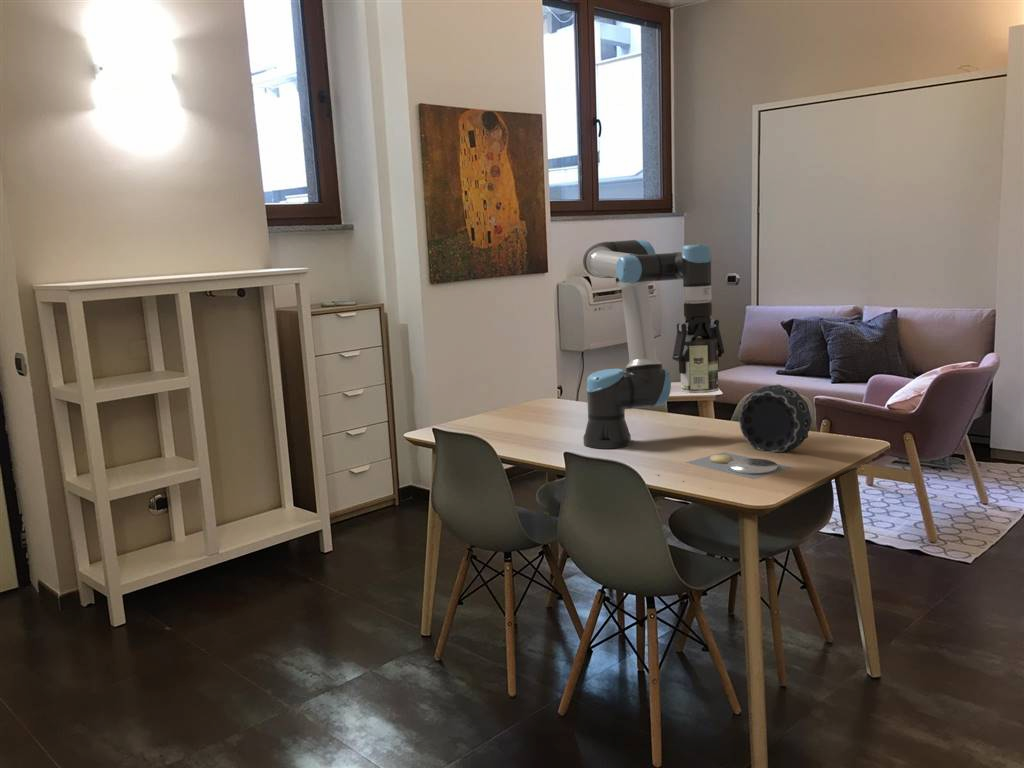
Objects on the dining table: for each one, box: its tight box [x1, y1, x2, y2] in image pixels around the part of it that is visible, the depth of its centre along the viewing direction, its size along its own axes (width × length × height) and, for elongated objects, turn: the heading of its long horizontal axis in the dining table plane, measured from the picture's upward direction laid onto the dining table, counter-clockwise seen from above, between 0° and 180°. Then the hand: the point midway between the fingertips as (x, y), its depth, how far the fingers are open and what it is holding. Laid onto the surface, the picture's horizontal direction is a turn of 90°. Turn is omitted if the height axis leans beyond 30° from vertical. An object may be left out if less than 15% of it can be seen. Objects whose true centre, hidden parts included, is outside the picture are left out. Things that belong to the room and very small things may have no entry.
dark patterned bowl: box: [738, 384, 813, 453], centre depth 257 cm, size 11×20×20 cm, turn 51°
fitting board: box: [685, 451, 793, 480], centre depth 242 cm, size 24×16×2 cm, turn 35°
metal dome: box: [728, 457, 778, 475], centre depth 238 cm, size 13×13×1 cm
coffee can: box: [680, 337, 720, 394], centre depth 240 cm, size 10×10×14 cm
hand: (699, 382), depth 241 cm, fingers closed on coffee can, 10 cm apart
